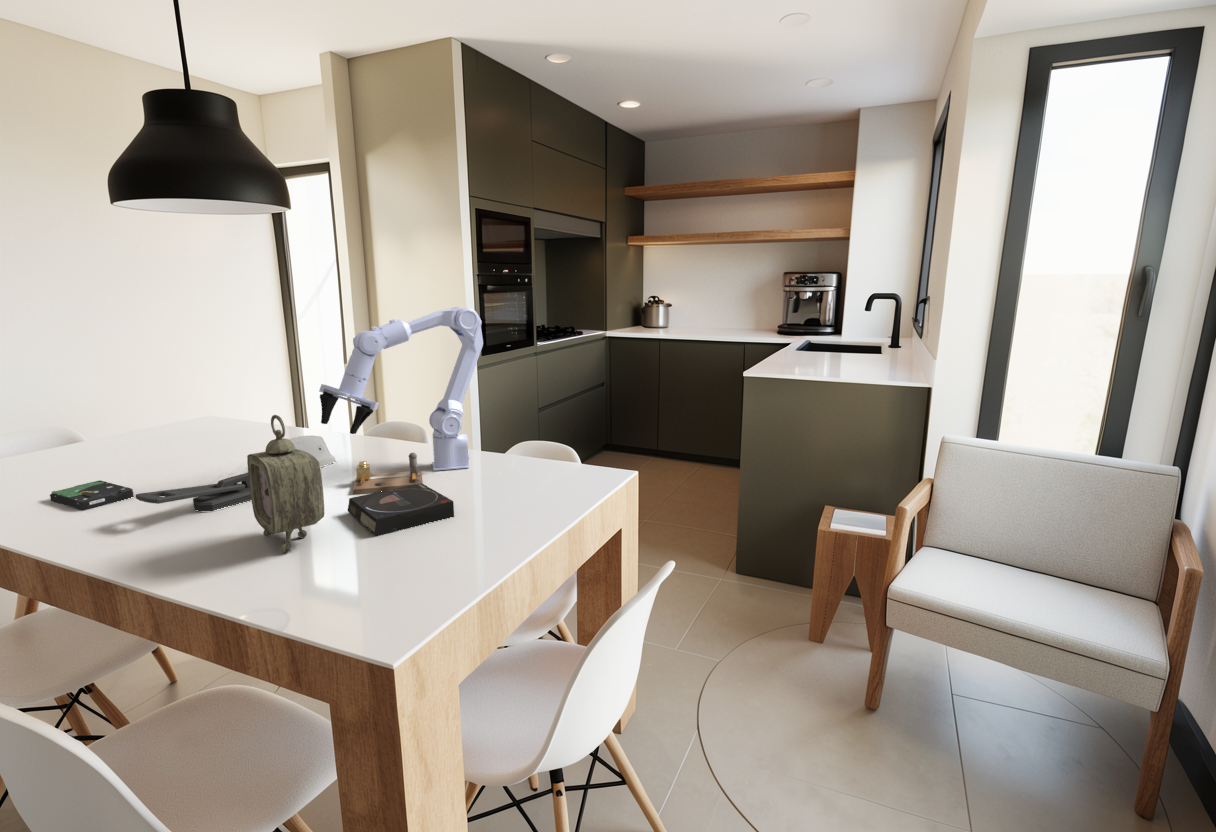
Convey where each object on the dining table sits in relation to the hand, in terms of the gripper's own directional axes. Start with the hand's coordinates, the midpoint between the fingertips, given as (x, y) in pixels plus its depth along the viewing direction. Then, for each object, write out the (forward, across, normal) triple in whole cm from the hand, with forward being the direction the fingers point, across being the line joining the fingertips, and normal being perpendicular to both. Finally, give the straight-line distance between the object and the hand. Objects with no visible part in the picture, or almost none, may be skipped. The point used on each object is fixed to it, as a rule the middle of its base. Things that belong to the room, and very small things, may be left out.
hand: (338, 428), depth 152 cm
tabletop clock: (+19, +13, -32) cm, 40 cm away
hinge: (+16, -12, +16) cm, 26 cm away
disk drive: (+33, -45, -10) cm, 57 cm away
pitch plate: (+9, +16, +2) cm, 19 cm away
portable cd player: (+11, +28, -19) cm, 35 cm away
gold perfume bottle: (+10, +10, 0) cm, 14 cm away
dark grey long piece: (+24, -15, -15) cm, 33 cm away
